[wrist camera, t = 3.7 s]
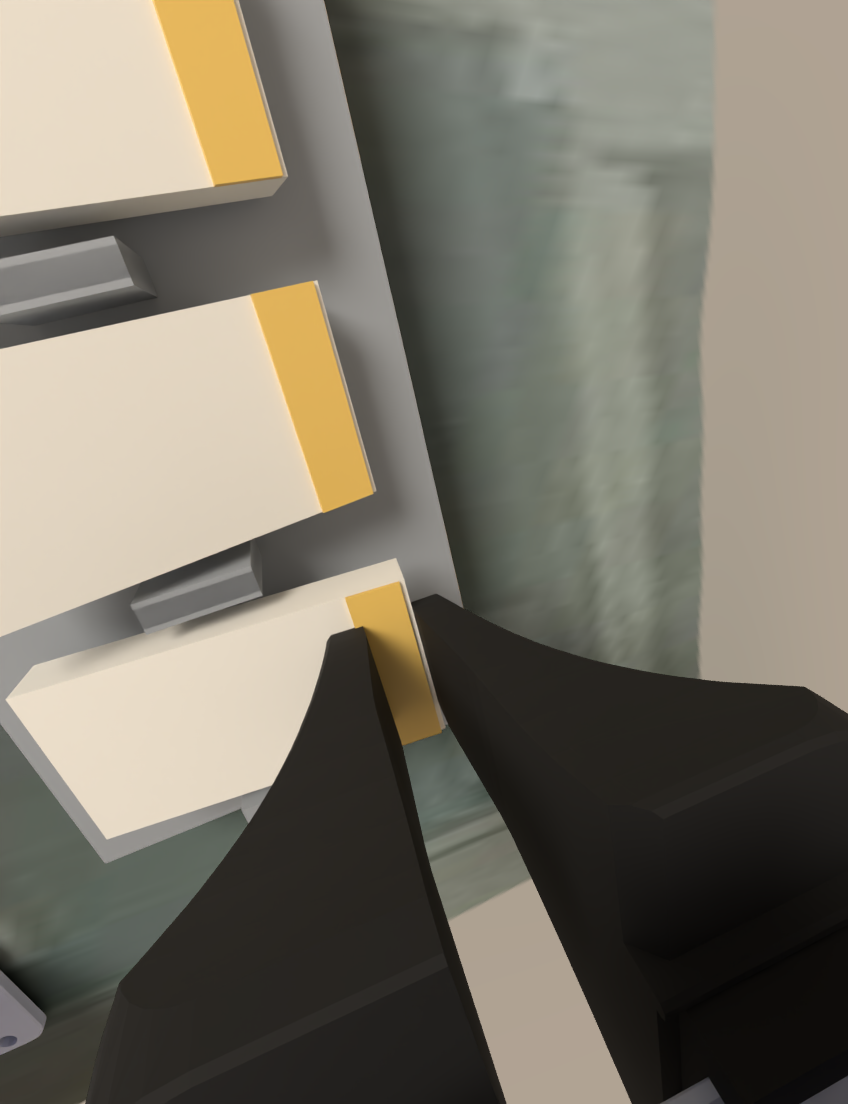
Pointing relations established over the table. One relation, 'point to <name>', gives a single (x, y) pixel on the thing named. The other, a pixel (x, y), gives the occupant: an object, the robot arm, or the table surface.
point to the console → (221, 274)
